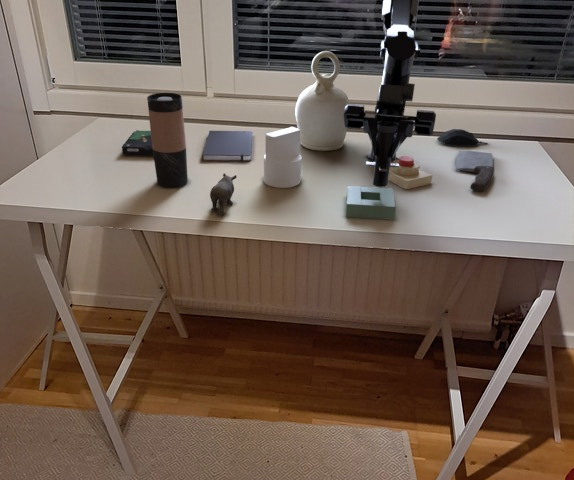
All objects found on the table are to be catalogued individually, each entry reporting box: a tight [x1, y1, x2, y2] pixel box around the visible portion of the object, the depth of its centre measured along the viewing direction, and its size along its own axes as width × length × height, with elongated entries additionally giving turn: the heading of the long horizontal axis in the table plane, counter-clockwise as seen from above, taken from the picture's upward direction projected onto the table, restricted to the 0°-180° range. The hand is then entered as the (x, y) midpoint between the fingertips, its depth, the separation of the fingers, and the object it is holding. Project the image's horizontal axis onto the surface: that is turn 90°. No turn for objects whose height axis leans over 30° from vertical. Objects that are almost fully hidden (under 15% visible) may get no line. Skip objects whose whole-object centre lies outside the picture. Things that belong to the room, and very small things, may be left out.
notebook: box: [202, 130, 254, 162], centre depth 154 cm, size 13×2×21 cm
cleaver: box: [454, 150, 495, 192], centre depth 143 cm, size 29×10×2 cm, turn 163°
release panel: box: [388, 160, 433, 190], centre depth 137 cm, size 11×8×4 cm
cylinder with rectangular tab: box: [263, 126, 303, 189], centre depth 132 cm, size 9×9×12 cm
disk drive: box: [121, 129, 154, 157], centre depth 152 cm, size 10×3×15 cm
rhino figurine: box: [209, 172, 237, 216], centre depth 121 cm, size 4×14×6 cm, turn 171°
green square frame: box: [345, 185, 396, 221], centre depth 122 cm, size 10×10×3 cm
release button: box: [398, 155, 415, 167], centre depth 135 cm, size 4×4×2 cm
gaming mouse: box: [437, 128, 488, 147], centre depth 162 cm, size 6×15×4 cm, turn 88°
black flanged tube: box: [365, 121, 399, 188], centre depth 116 cm, size 7×7×13 cm
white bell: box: [295, 50, 351, 152], centre depth 152 cm, size 15×16×25 cm
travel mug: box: [146, 92, 189, 189], centre depth 127 cm, size 8×8×20 cm
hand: (383, 156), depth 114 cm, fingers closed on black flanged tube, 3 cm apart
